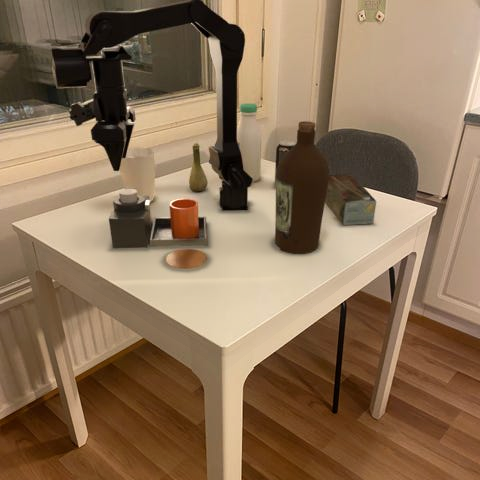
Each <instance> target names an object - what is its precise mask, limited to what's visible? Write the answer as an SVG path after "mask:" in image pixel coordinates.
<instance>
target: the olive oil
mask: <svg viewBox="0 0 480 480" xmlns="http://www.w3.org/2000/svg"><path fill="white" fill-rule="evenodd" d="M315 129H316V123H315V122H313V121H309V120H308V121H307V120H303V121H299V122H298V129H297V131H296V144H295V145H294V146H293V147H292V148H291V149H290V150H289V151H288V152H287V153H286V154H285V155H284V156H283V157H282V159H281V160H280V162H279V164H278V167H277V170H276V185H275V219H274V221H275V223H274V224H275V225H274V227H275V229H274V244H275V246H276V247H277V248H279V250H281V251H283V252H286V253H290V254H300V255H301V254H308V253H312V252H314V251H315V250H317V249H318V248H319V243H320V238H321V237H320V236H321V231H322V223H323V217H324V210H325V205H326V201H325V200H326V194H327V188H328V183H329V175H331V174H330V166H329V164H328V161H327V159H326V158H325V156H324V155H323V154H322V153H321V151H320V150H319V149H318V147H317V146H316V143H315V138H316V130H315Z"/></svg>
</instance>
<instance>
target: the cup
mask: <svg viewBox="0 0 480 480" xmlns="http://www.w3.org/2000/svg"><path fill="white" fill-rule="evenodd" d="M119 173H120V177H121V180H122V184H123V188H124V189H134V190H136V191H137V195H141V196H149V200H150V203H152V201H154V200H155V184H156V183H155V182H156V181H155V180H156V159H155V152H154V150H153V149H150V148H147V147H130V148H129V147H128V150H127V154H126V157H125V158H122V161H121V165H120V169H119Z"/></svg>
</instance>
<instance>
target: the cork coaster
mask: <svg viewBox="0 0 480 480" xmlns="http://www.w3.org/2000/svg"><path fill="white" fill-rule="evenodd" d="M208 259H209V258H208V255H207V253H205V252H203V251H201V250H199V249H194V248H193V249H192V248H183V249H177V250H175V251H172V252H170V253H168V255H166V257H165V262H166V264H167V265H168V266H170V267H172V268H175V269H180V270H181V269H182V270H191V269H192V270H193V269H196V268H199V267H202V266H203V265H205V264H206V263H207V261H208Z"/></svg>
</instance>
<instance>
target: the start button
mask: <svg viewBox="0 0 480 480" xmlns="http://www.w3.org/2000/svg"><path fill="white" fill-rule="evenodd" d="M118 193H119V196H120V202H122V203H134V202H137V201H138V198H137V191H136V190H134V189H125V188H124V189H121V190H119V192H118Z"/></svg>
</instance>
